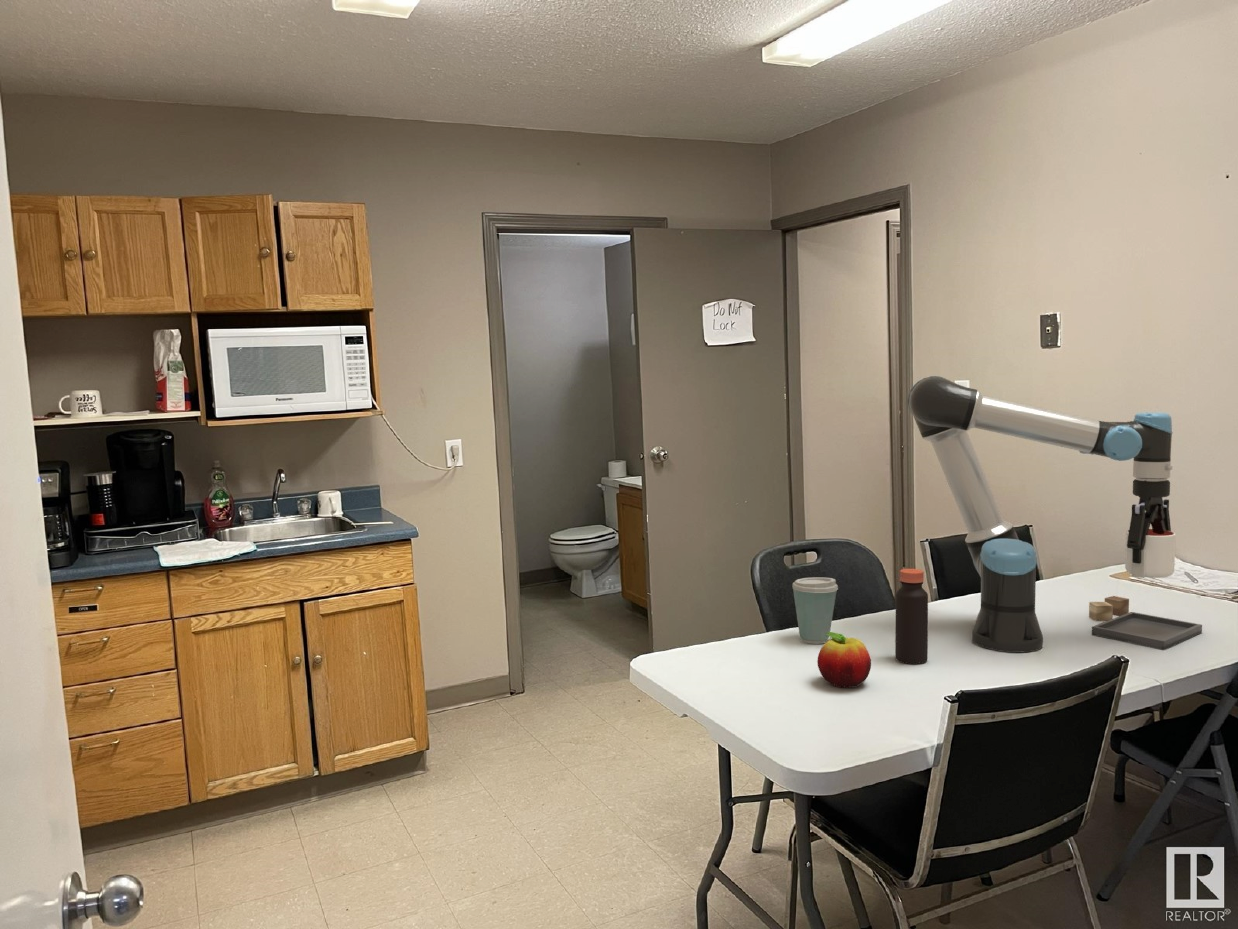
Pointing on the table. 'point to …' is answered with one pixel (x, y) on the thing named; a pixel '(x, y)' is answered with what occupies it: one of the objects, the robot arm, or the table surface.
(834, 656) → the fruit
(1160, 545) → the cup
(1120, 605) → the walnut block
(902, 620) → the bottle
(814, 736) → the table surface
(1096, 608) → the maple block
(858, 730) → the table surface
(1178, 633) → the tray
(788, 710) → the table surface
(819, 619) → the disposable coffee cup
